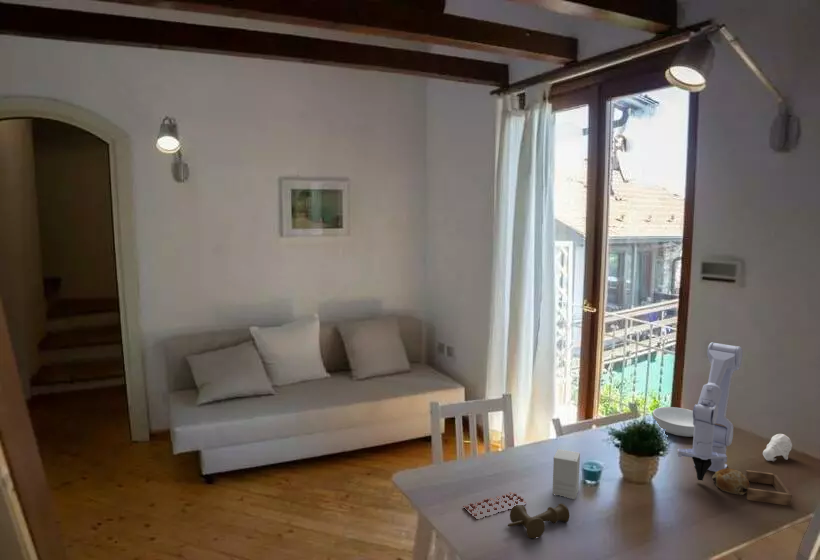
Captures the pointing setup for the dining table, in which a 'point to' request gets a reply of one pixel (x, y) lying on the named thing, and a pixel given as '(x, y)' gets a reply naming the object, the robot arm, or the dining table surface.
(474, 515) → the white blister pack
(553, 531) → the dining table surface
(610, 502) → the dining table surface
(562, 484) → the supplement box
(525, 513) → the kendama
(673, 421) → the serving bowl
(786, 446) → the white lumpy piece
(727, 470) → the bread roll
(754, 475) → the wooden tray
